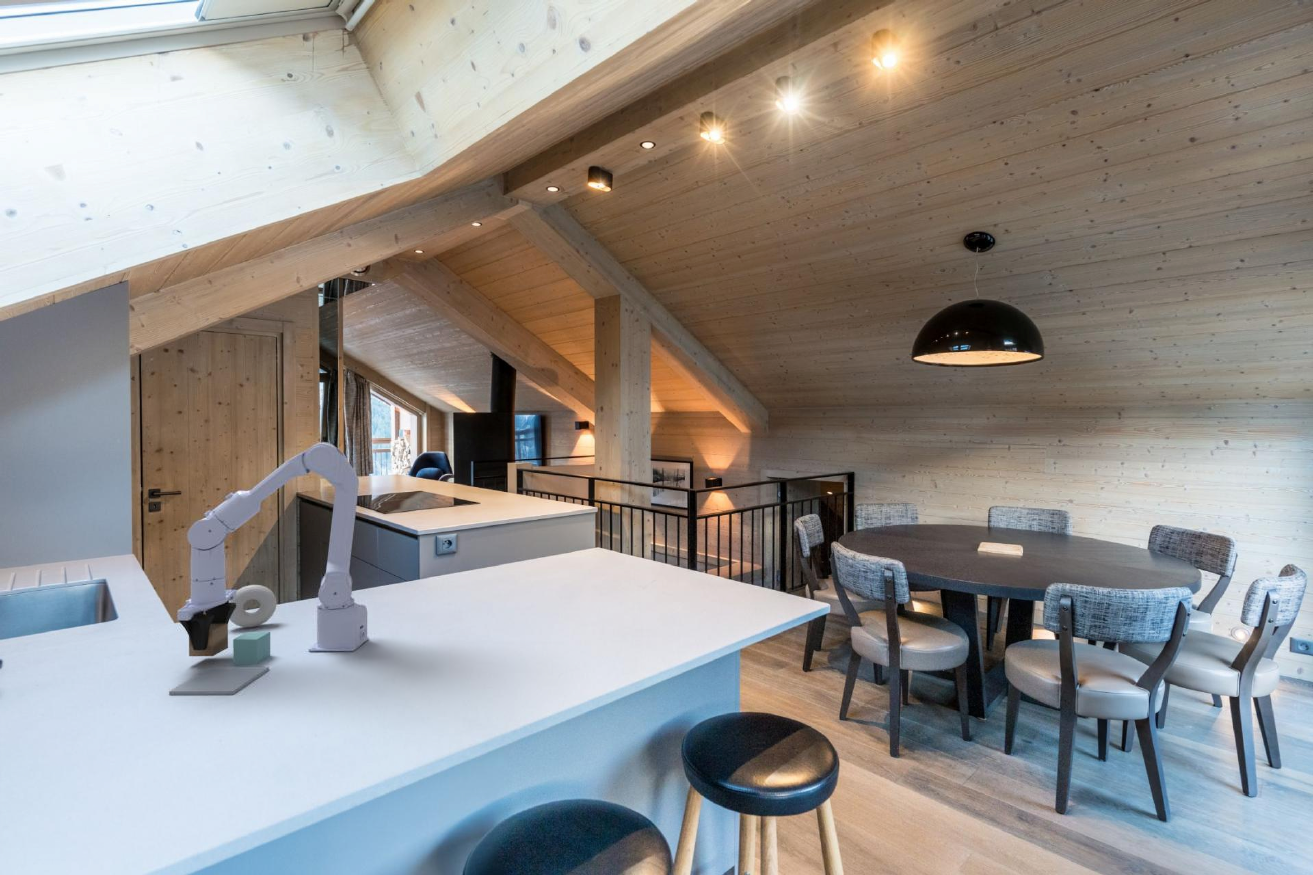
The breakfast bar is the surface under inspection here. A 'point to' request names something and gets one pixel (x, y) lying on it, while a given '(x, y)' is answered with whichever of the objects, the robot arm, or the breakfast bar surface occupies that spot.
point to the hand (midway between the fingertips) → (208, 644)
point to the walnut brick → (213, 641)
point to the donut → (261, 614)
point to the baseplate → (219, 681)
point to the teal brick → (251, 648)
